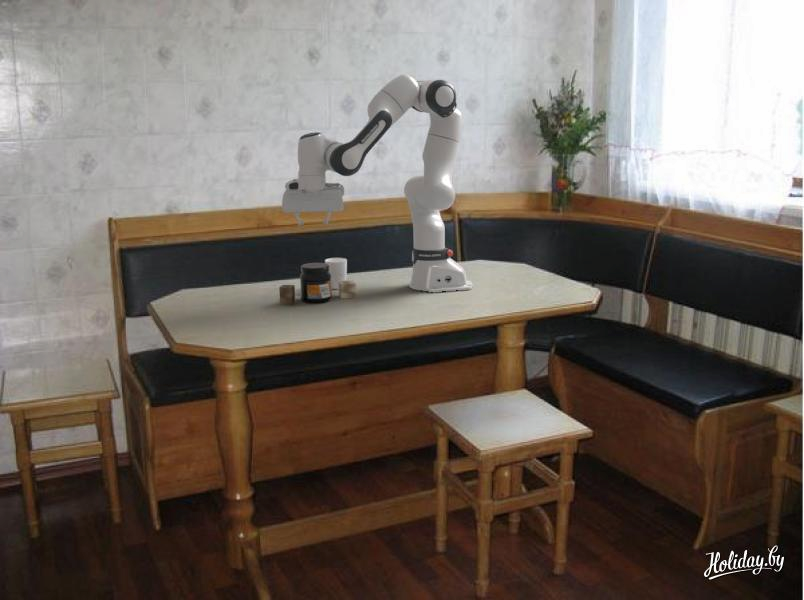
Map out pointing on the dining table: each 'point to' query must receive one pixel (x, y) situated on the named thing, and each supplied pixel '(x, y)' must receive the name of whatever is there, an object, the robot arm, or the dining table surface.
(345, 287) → the beech block
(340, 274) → the white cup
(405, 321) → the dining table surface
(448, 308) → the dining table surface
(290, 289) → the walnut block
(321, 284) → the supplement container
